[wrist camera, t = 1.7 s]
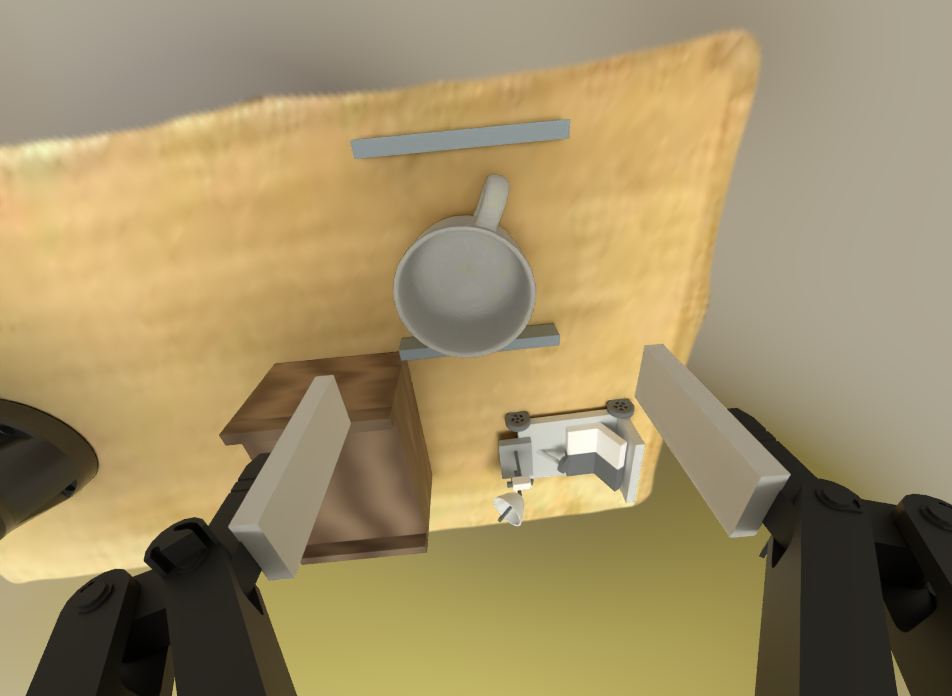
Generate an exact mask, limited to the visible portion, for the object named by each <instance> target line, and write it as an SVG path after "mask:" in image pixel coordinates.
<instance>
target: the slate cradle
mask: <svg viewBox="0 0 952 696" xmlns="http://www.w3.org/2000/svg"><path fill="white" fill-rule="evenodd" d="M569 132H570V119H565V120H554V121H544V122H534V123H523V124H513V125H502V126H492V127H482V128H471V129H461V130H451V131H440V132H430V133H420V134H409V135H399V136H389V137H378V138H368V139H357V140H350V142H351V146H352V151H353V155H354V159H359V158H369V157H380V156H390V155H400V154H411V153H421V152H431V151H442V150H452V149H462V148H473V147H483V146H493V145H504V144H514V143H524V142H535V141H545V140H556V139H566V138H569ZM559 341H560V334H559V333H558V331H557V329H556V327H555V325H554V323H553V324H543V325H533V326H526V327H525V329H524V330H523V331H522V332H521V334H520V335H519V336H518V337H517V338H516V339H515V340H513V341H512V342H511V343H510V344H508V345H507V346H505V347H503V348H502V349H500V350H498V351H507V350H517V349H527V348H538V347H548V346H558V345H559ZM495 352H497V351H495ZM399 354H400V358H401V361H404V360H415V359H425V358H435V357H445V356H450V355H445V354H442V353H440V352H437V351H435V350H433V349H431V348H429V347H428V346H426V345H425V344H423V343H421V342H420V341H419V340H418V339H417V338H415V337H410V338H402V340H401V344H400V348H399Z"/></svg>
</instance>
